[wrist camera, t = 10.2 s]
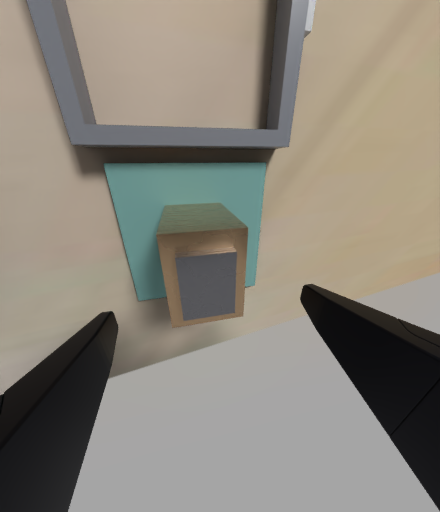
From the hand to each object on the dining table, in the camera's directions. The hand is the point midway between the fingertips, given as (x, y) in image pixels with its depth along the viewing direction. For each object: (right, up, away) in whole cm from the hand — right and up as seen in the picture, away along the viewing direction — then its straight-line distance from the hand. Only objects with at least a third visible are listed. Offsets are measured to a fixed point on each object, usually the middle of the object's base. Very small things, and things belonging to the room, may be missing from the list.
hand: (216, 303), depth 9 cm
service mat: (-2, +4, +8) cm, 10 cm away
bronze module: (-2, +4, +8) cm, 9 cm away
